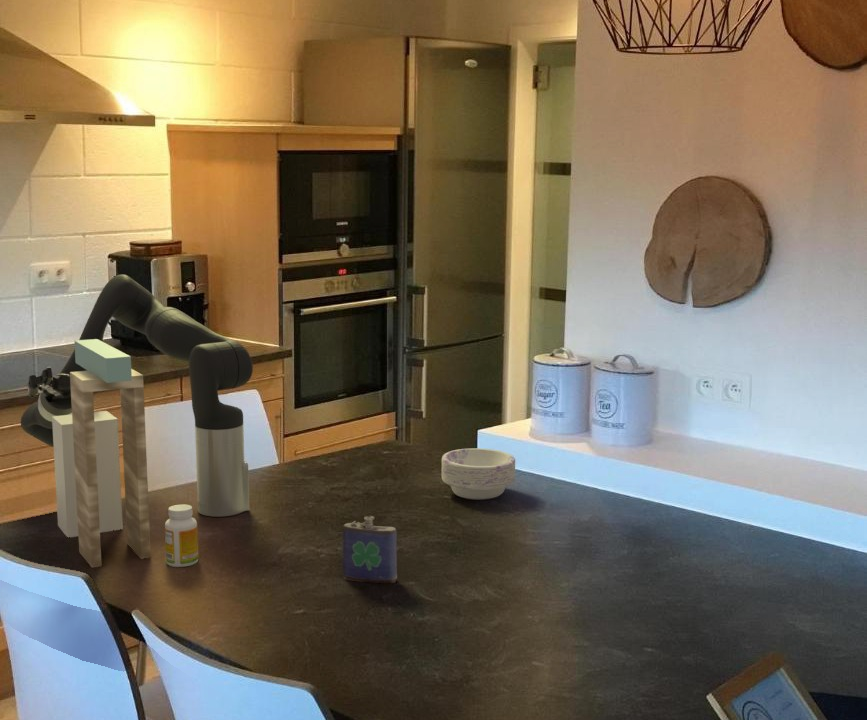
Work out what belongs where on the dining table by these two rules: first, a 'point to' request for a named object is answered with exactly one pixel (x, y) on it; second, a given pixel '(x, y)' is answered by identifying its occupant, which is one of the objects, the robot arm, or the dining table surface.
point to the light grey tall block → (105, 473)
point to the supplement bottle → (181, 537)
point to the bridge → (132, 456)
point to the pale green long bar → (103, 360)
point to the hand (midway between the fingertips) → (73, 369)
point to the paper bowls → (478, 472)
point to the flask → (369, 552)
